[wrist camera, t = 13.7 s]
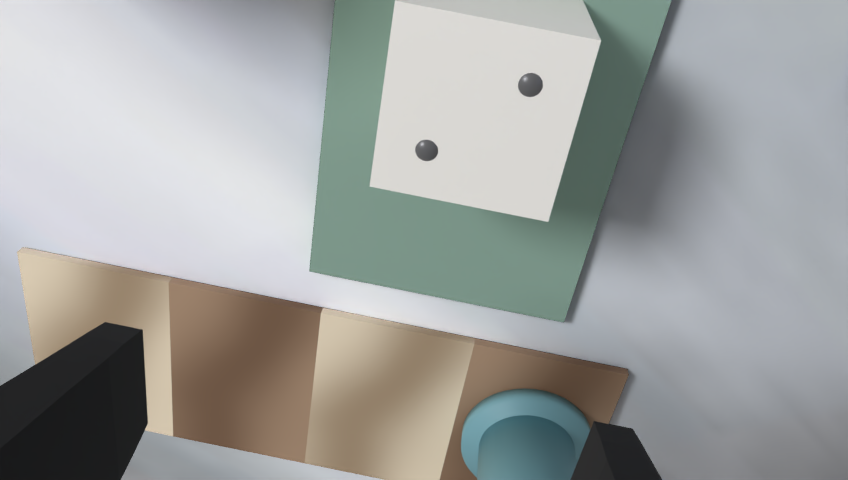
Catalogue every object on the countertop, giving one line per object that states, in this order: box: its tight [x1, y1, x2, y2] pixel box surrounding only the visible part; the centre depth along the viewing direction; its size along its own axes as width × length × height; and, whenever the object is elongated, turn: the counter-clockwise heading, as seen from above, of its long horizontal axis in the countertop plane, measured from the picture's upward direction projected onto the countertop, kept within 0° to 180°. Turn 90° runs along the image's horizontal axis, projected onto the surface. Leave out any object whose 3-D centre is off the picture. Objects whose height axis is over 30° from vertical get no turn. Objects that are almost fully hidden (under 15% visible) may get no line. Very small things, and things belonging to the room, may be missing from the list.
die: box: [369, 0, 601, 222], centre depth 16 cm, size 4×4×4 cm
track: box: [17, 247, 629, 480], centre depth 24 cm, size 20×7×1 cm, turn 81°
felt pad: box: [309, 0, 671, 322], centre depth 19 cm, size 8×10×1 cm
